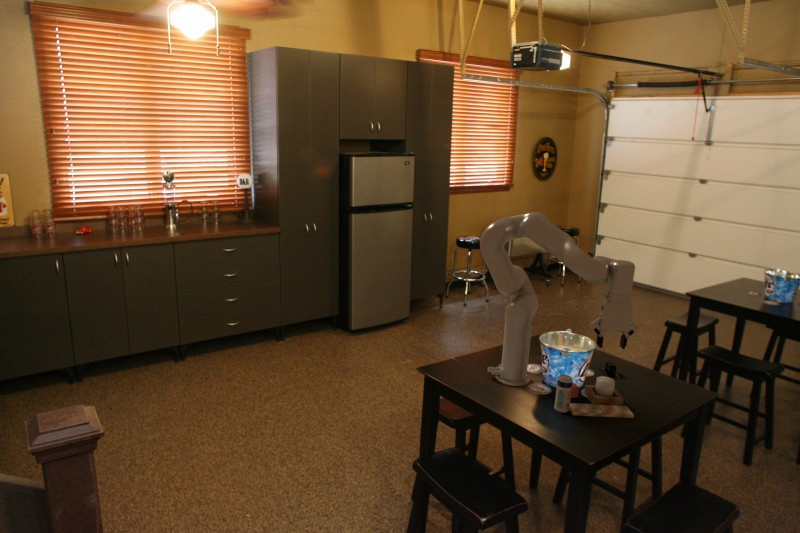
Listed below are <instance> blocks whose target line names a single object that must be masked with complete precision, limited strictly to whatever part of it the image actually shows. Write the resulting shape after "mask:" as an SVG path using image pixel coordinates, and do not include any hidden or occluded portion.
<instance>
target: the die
mask: <svg viewBox="0 0 800 533" xmlns="http://www.w3.org/2000/svg"><path fill="white" fill-rule="evenodd" d="M579 389H580V386H578V385H577V384H576V383H575V382H574V381H573V382H572V390H571V397H570V399H574V398H575V399H576V398H578V397H579Z"/></svg>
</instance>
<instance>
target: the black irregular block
mask: <svg viewBox="0 0 800 533" xmlns="http://www.w3.org/2000/svg"><path fill="white" fill-rule="evenodd" d="M598 369H599V370H600V371H601V373H602V374H603V375H604V377H609V378H612V379H620V380H621V377H620V376H619V374H618V373H617V364H616V363H615V362H614V361H605V364H604V367H598Z"/></svg>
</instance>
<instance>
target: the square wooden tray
mask: <svg viewBox="0 0 800 533" xmlns="http://www.w3.org/2000/svg"><path fill="white" fill-rule="evenodd" d="M595 388H596V384H595V385H594V384H593V385H592V384H591V385H590V384H585V385H584V392H583V393H584V395H585V394H586V395H585V396H586V397H587V400H589V402H590V404H597V405H619V406H624V401H625V400H624V397H623V396H622V395H621V394H620V393H619V391H617V389H616V388H615V387H614V392H613V396H612V397H604V396H599V395H597V394H596V393H595Z"/></svg>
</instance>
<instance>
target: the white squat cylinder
mask: <svg viewBox="0 0 800 533" xmlns="http://www.w3.org/2000/svg"><path fill="white" fill-rule="evenodd" d="M615 384H616V380H614V378H609V377H605V375H604V376H602V375H601V376H597V377H596V383H595V385H596V388H595V393H596V394H597V396H604V397H612V396H613V392H614V388H615Z"/></svg>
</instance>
